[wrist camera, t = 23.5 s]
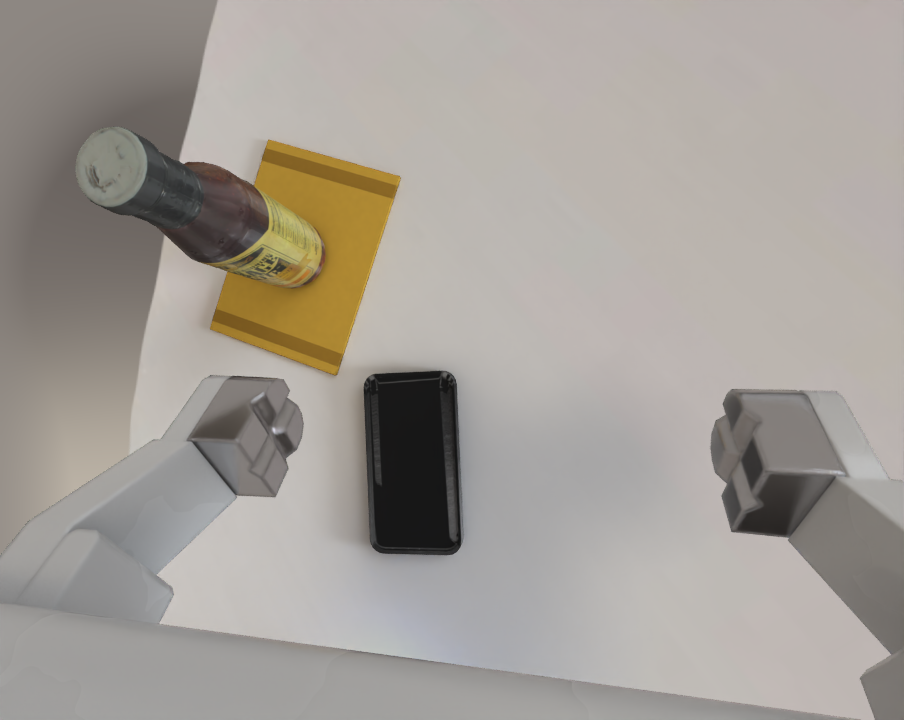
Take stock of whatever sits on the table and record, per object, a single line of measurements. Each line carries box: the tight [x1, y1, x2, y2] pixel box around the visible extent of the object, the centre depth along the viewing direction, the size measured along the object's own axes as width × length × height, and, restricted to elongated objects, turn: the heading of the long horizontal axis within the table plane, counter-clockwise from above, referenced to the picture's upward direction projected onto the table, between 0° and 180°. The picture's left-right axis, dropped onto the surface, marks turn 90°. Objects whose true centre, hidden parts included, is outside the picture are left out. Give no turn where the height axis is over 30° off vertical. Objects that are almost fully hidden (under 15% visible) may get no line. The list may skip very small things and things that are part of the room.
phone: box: [364, 371, 463, 555], centre depth 41 cm, size 8×1×15 cm
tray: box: [210, 140, 401, 375], centre depth 43 cm, size 18×13×1 cm
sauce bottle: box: [76, 127, 326, 289], centre depth 33 cm, size 6×6×20 cm
